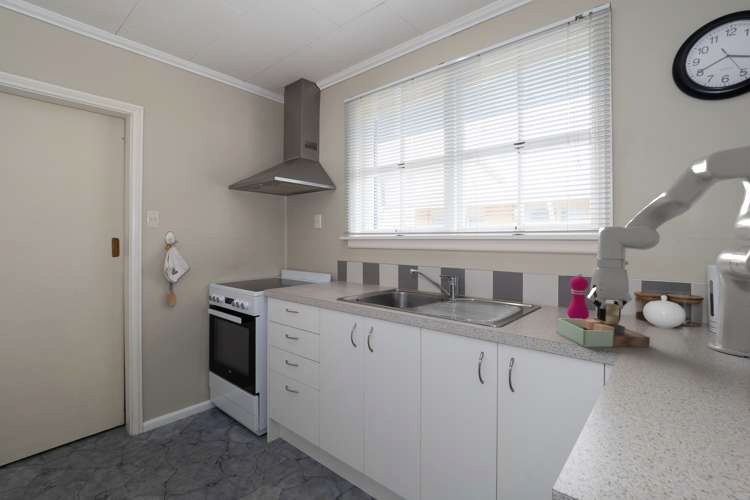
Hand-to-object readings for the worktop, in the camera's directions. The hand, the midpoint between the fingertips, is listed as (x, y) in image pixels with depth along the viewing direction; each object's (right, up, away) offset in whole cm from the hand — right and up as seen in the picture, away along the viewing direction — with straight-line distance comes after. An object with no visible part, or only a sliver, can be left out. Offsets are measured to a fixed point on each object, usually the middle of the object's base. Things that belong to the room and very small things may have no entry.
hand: (608, 319), depth 114 cm
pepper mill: (+1, -6, +19) cm, 20 cm away
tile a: (-4, -4, -3) cm, 6 cm away
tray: (-8, -6, 0) cm, 11 cm away
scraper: (0, -3, 0) cm, 3 cm away
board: (+2, -7, 0) cm, 7 cm away
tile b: (-4, -3, +3) cm, 6 cm away
